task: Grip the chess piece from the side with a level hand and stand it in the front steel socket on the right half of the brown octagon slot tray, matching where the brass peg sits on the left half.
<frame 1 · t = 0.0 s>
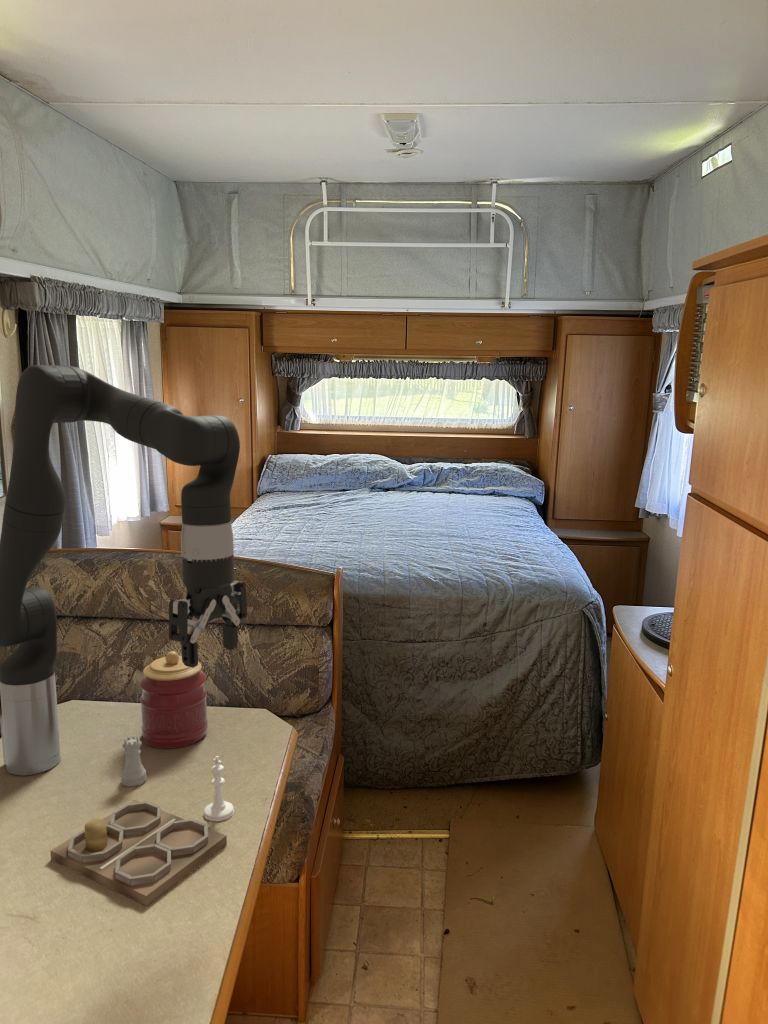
hand: (211, 657, 112), 29 cm above the table, tool pointing down, fingers open, 8 cm apart
brown octagon slot tray: (140, 851, 112), on the table
rook chess piece: (134, 782, 133), on the table
chess piece: (219, 814, 123), on the table
canister: (175, 735, 151), on the table
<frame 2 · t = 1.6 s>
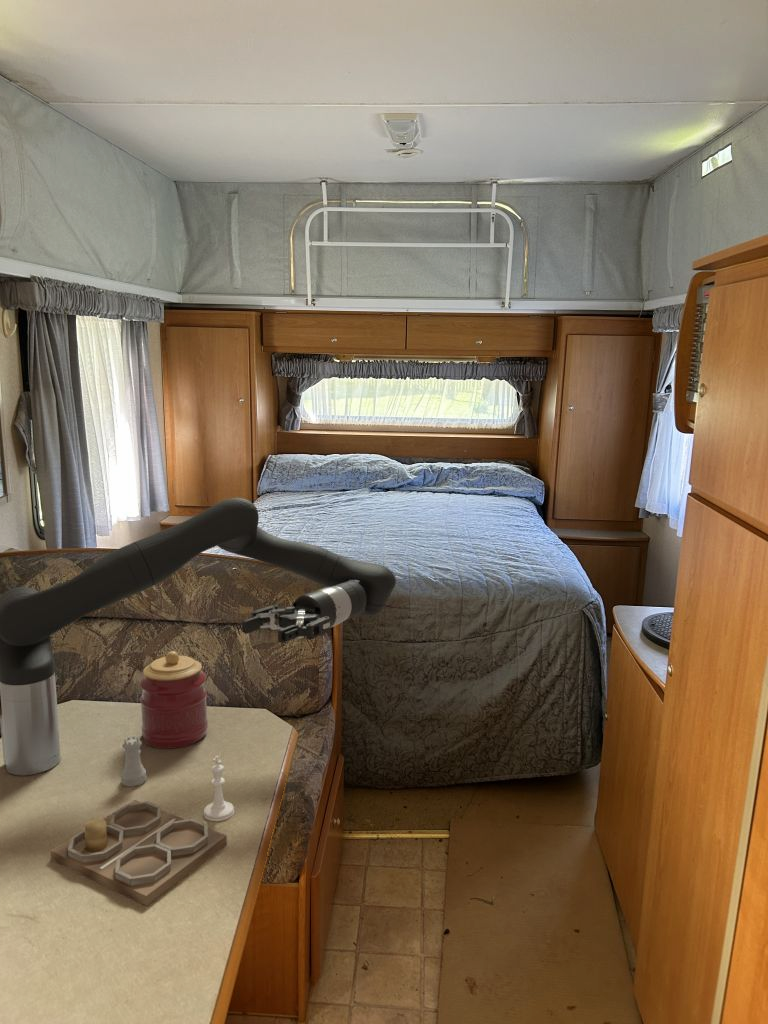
hand: (261, 632, 127), 28 cm above the table, tool horizontal, fingers open, 8 cm apart
nothing on the table moved.
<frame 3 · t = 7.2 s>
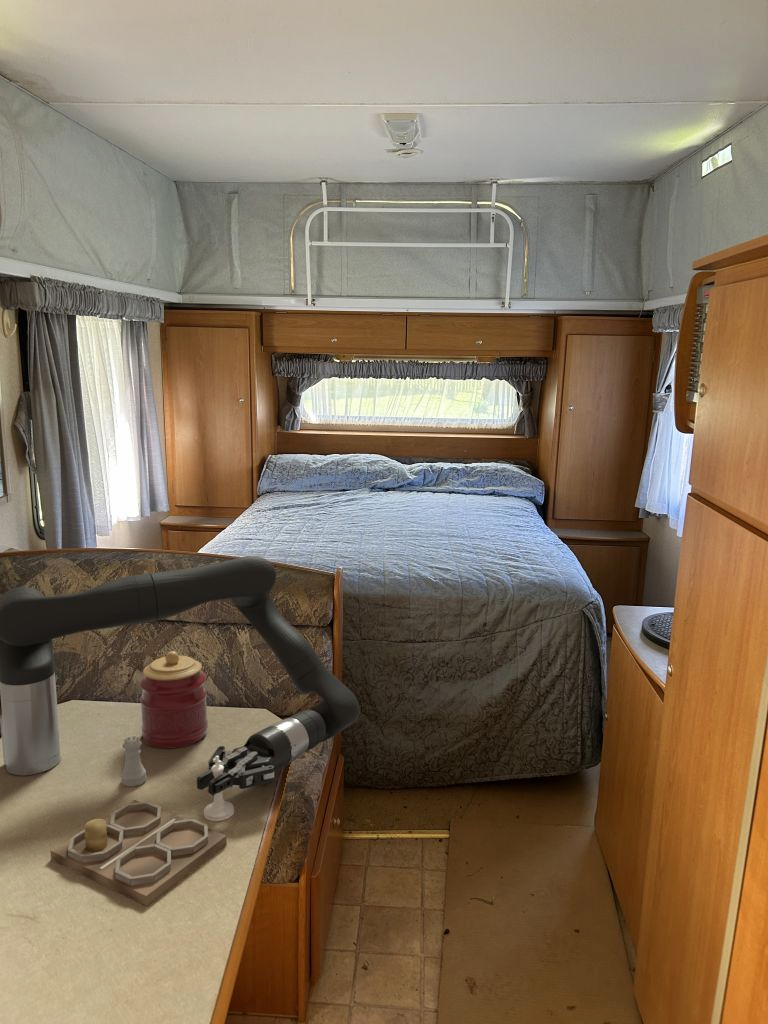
hand: (204, 786, 119), 6 cm above the table, tool horizontal, fingers closed on chess piece
chess piece: (219, 813, 123), on the table, touching gripper
everything else where it was.
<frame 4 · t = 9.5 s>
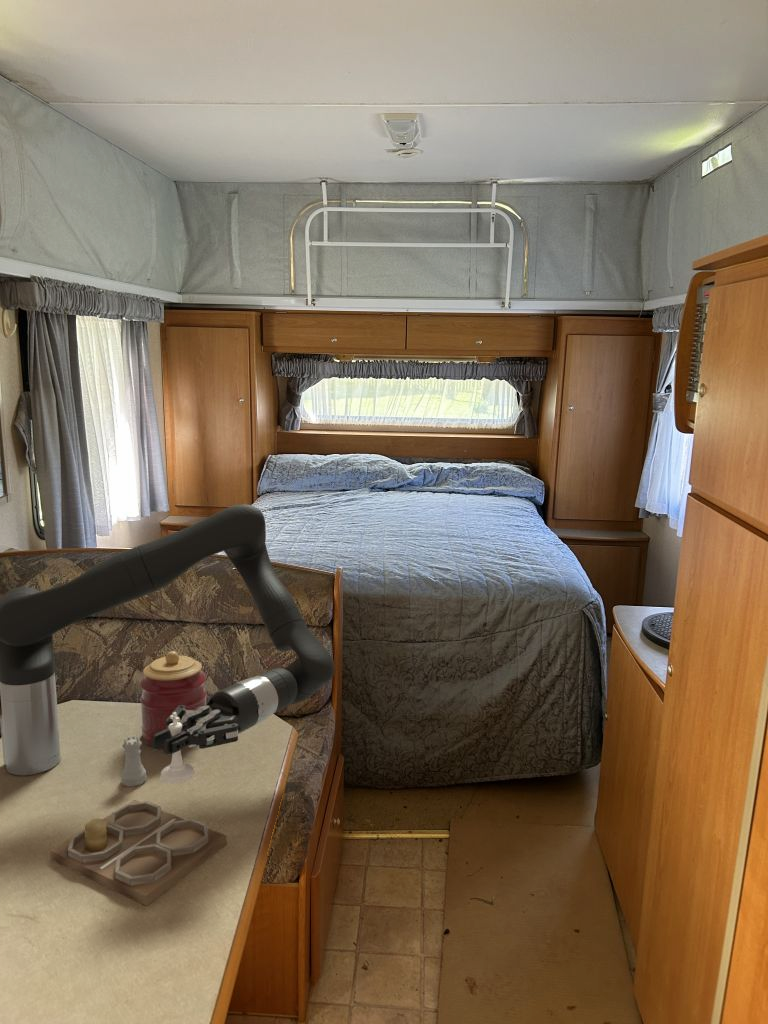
hand: (160, 745, 109), 18 cm above the table, tool horizontal, fingers closed on chess piece
chess piece: (177, 776, 112), point 11 cm above the table, touching gripper
everything else where it was.
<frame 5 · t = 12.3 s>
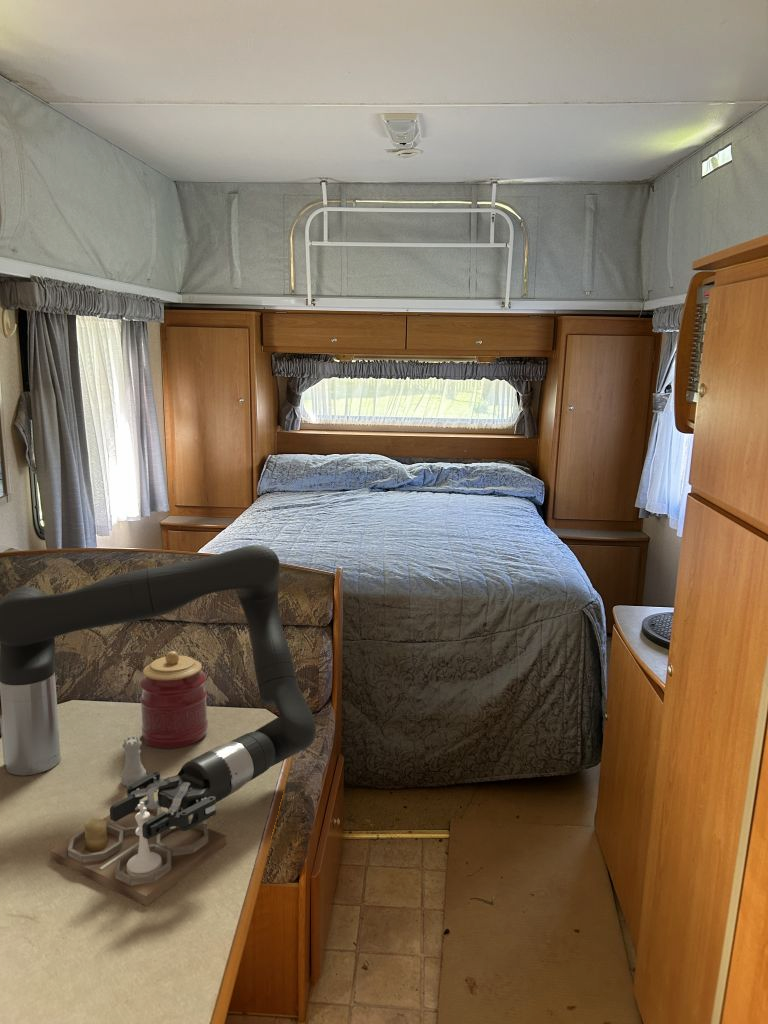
hand: (127, 823, 103), 10 cm above the table, tool horizontal, fingers open, 6 cm apart
chess piece: (144, 867, 106), point 1 cm above the table, touching brown octagon slot tray
everything else where it was.
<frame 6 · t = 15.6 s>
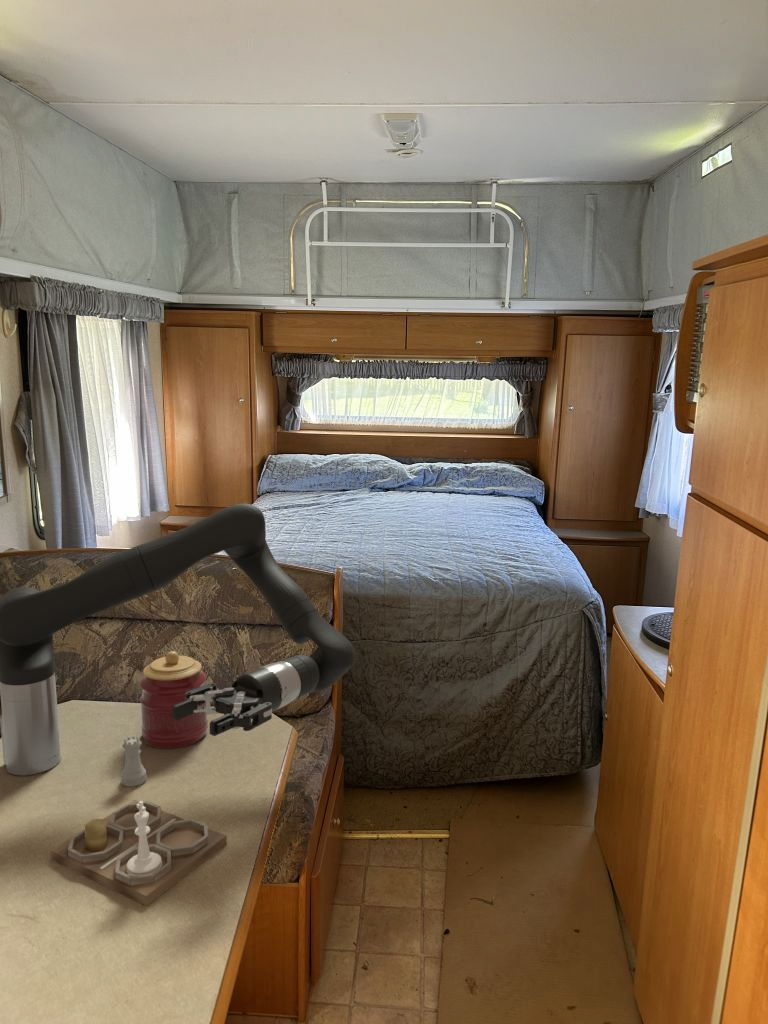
hand: (191, 721, 111), 20 cm above the table, tool horizontal, fingers open, 8 cm apart
nothing on the table moved.
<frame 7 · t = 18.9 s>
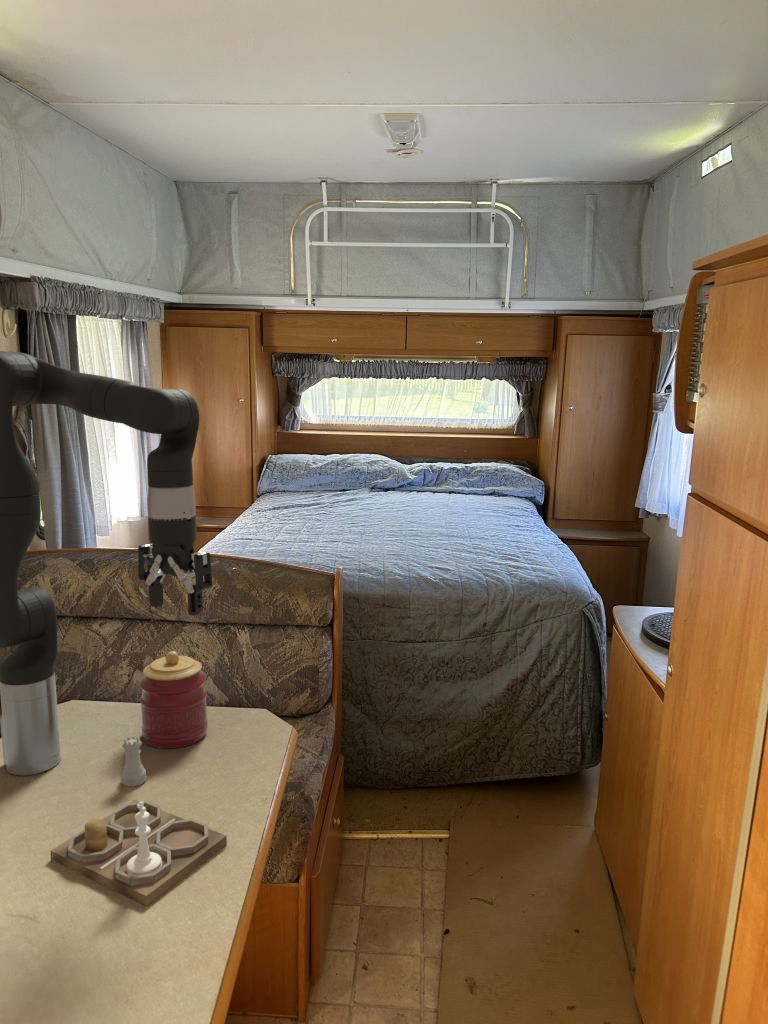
hand: (175, 610, 123), 33 cm above the table, tool pointing down, fingers open, 8 cm apart
nothing on the table moved.
at the end: chess piece 0.1 cm from the target spot on the brown octagon slot tray, point 1.3 cm above the brown octagon slot tray's base; chess piece tilted 0°; the gripper is holding nothing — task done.
